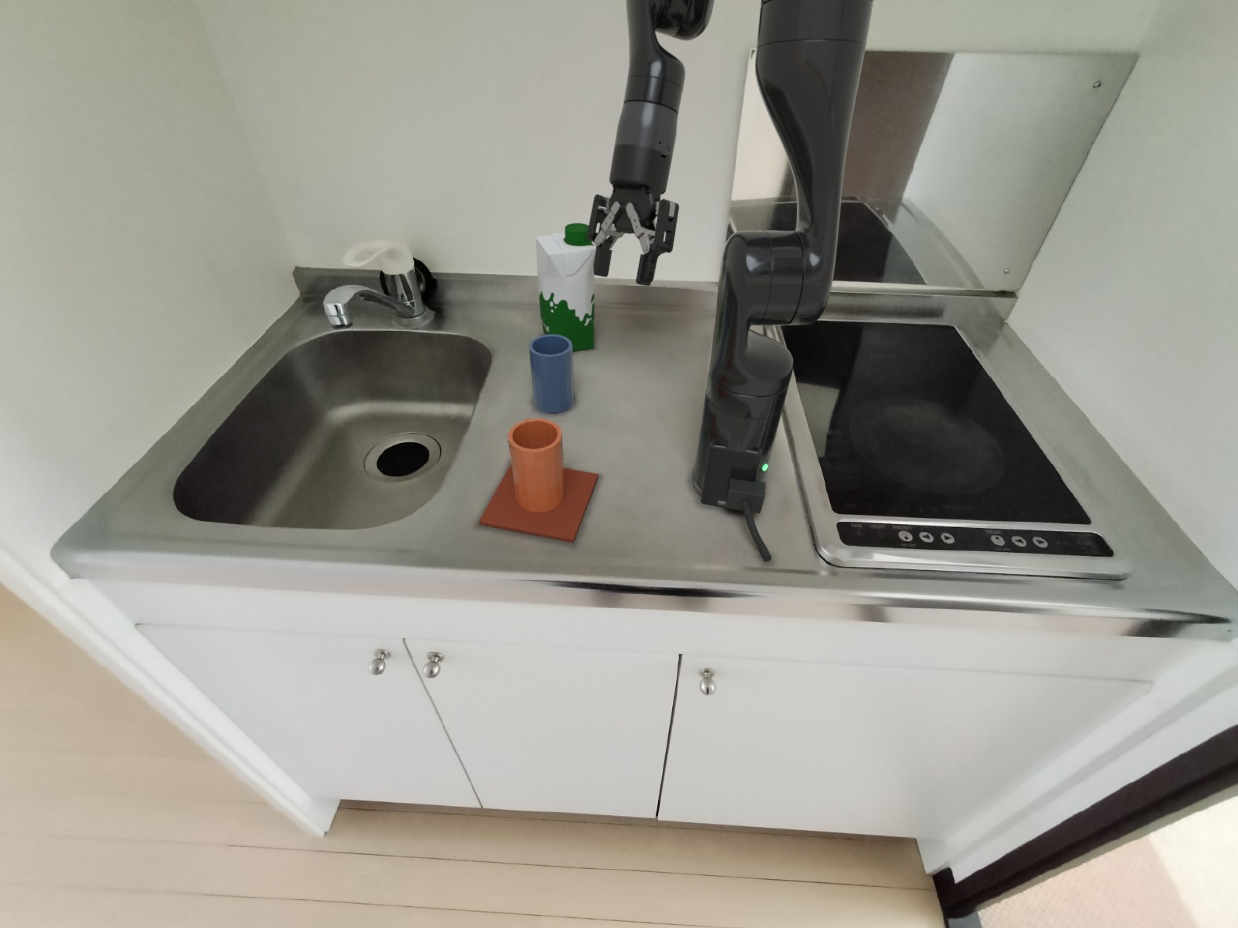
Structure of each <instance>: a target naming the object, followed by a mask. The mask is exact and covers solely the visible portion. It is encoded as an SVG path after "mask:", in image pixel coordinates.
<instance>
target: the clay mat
mask: <svg viewBox="0 0 1238 928" xmlns="http://www.w3.org/2000/svg"><path fill="white" fill-rule="evenodd" d="M598 480H599V473H595V472H590V471H585V470H578V469H574V468H573V469H572V468H567V467H564V483H565V496H564V499H563V501H562V503H561V504H560V505H559V506H558V507H556V508H555V509H553V510H551V511H548V512H542V513H534V512H530V511H527V510H525V509H523V508H522V507H520V506H519V504H518V503H517V501H516V495H515V488H514V480H513V472H512V464H511V463H510V464H509V467H508V468H507V469H506V472H505V474H504V475H503V477H502V478H501V480H500V482H499V484H498V485H497V488H496V489H495V492H494V493H493V495H492V497H491V499H490V501H489V502H488V503H487V506H486V507H485V509H484V511H483V513H482V515H481V517H479V518H480V519H479V520H478V525H480V526H484V527H489V528H494V529H500V530H504V531H505V530H506V531H511V532H516V533H521V534H526V535H532V536H536V537H541V538H545V539H552V540H555V541H556V540H557V541H563V542H567V543H571V544H574V543H575V540H576V537H577V535H578V532H579V529H580V527H581V524H582V522H583V519H584V516H585V514H586V511H587V508H588V506H589V503H590V502H591V501H590V500H591V498H592V495H593V494H594V493H593V492H594V490H595V487H596V485H597V482H598Z"/></svg>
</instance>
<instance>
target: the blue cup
mask: <svg viewBox="0 0 1238 928" xmlns="http://www.w3.org/2000/svg"><path fill="white" fill-rule="evenodd" d="M528 351H529V352H528V353H529V364H530V374H531V386H532V387H531V388H532V396H533V397H532V398H533V406H534V407H535V409H537V410H538V411H539V412H541V413H545V414H561V413H564V412H566V411H568V410H570V409H571V408H572V407H573V406H574V403H575V383H574V381H575V380H574V352H573V347H572V342H571V341H570V340H569V339H568V338H566V337H564V336H561V335H555V334H550V335H544V334H542V335H538V336H536V337H534V338H533V339H531V341H530V342H529V344H528Z"/></svg>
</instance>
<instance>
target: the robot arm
mask: <svg viewBox="0 0 1238 928" xmlns="http://www.w3.org/2000/svg"><path fill="white" fill-rule="evenodd" d="M715 1H716V0H625V9H626V21H627V34H628V70H627V71H628V72H627V79H626V84H625V91H624V96H623V97H624V98H623V104H622V108H621V113H620V116H619V119H618V123H617V128H616V132H615V133H616V134H615V140H614V146H613V147H614V148H613V153H612V160H611V167H610V171H609V176H608V177H609V178H608V179H609V183H610V185H611V186H612V192H611V195H610V197H609V196H606V195H601V194H598V193H597V194H595V195H594V197H593V202H592V206H591V212H590V217H589V222H588V226H589V227H588V232H587V239H588V240H591V241H592V243H593V244H594V247H595V248H596V252H595V259H594V265H593V269H594V276H597V277H602V278H607V277H608V276H609V273H610V266H611V261H612V255H613V249H612V248H613V247H614V245H615V244H616V242H618V240H619V239H620V238H622V237H624V235H625V234H627V235H628V234H629V235H631V234H634V236H635V238H636V239H637V240H638V241H639V244H640V247H641V251H642V253H640V255H639V262H638V266H637V271H636V276H635V283H636V284H637V285H640V286H646V287H649V286H651V284H652V282H654V281H653V280H654V279H655V273H656V269H657V265H658V259H659V257H660V256H661V255H662V254H663V255H664V254H665V253H668V254H670V253H672V252H673V250H674V244H675V238H676V237H675V236H676V232H677V224H678V218H679V210H680V205H679V203H678V202H674V201H672V200H669V199H665V198H662V199H661V196H663V195H664V194H665V193H666V192H667V188H668V183H669V176H670V171H671V167H672V160H673V155H674V150H675V145H676V139H677V129H678V119H679V113H680V107H681V100H682V96H683V91H684V86H685V80H686V67H685V65H684V63H683V62H682V60H680V59H679V58H678V57H676V56H675V55H674V54H673V53H671V52H669V51H668V50H667V49H666V48H664V47H663V45H661V43H660V42H659V40H658V36H657V33H658V34H661V35H663V36H667V37H670V38H673V39H676V40H679V41H684V42H690V41H692V40H693V41H694V40H695V39H696V38H698V37H700V36H701V35H702V34H703V33H705V32H704V31H705V30H706V29H707V27H708V25H709V23H710V20H711V17H712V13H713V10H714V5H715ZM874 1H875V0H760V8H759V17H758V27H757V38H756V50H755V59H754V74H755V80H756V83H757V84H756V85H757V87H758V90H759V95H760V97H761V99H762V102H763V105H764V107H765V110H766V112H767V115H768V118H769V119H770V121H771V123H772V126H773V128H774V130H775V132H776V134H777V137H778V139H779V141H780V143H781V145H782V148H783V151H784V152H785V155H786V158H787V160H788V163H789V167H790V170H791V173H792V177H793V181H794V186H795V193H796V224H795V230H738V231H736V232H734V233H732V234H731V235H730V236H729V238H728V239H727V241H726V243H725V245H724V248H723V249H722V253H721V258H720V264H719V272H718V282H717V296H716V297H717V298H716V308H715V319H714V326H713V334H712V341H711V352H710V353H711V354H710V361H709V367H708V375H707V381H706V387H705V393H704V401H703V407H702V414H701V422H700V428H699V435H698V441H697V447H696V448H697V449H696V455H695V462H694V463H695V464H694V469H693V473H692V485H693V488H694V490H695V492H696V493H697V494H698V495H699V496H700V503H701V504H706V505H707V504H708V505H713V506H718V507H724V508H725V509H731V510H738V511H743V515H744V518H745V522H746V524H747V528H748V530H749V532H750V535H751V538H752V540H753V541H754V544H755V545H756V546H757V549H758V550H759V552H760V554H761V555H762V557H763V560H764V561H765V562H769V561H771V560H772V558H773V556H772V555H771V553H770V551H769V549H768V547H767V545H766V544H765V542H764V541H763V540H764V539H762V537H761V535H760V533H759V530H758V528H757V527H758V526H757V525H756V522H755V519H754V516H753V513H754V514H760V515H761V513H762V510H763V505H764V501H765V497H766V487H767V486H766V485H767V483H766V478H767V473H768V470H769V464H770V461H771V457H772V454H773V451H774V445H775V442H776V437H777V434H778V430H779V426H780V422H781V418H782V414H783V409H784V406H785V404H786V399H787V395H788V390H789V387H790V383H791V379H792V376H793V375H792V374H793V371H794V367H795V364H794V358H793V355H792V352H791V351H790V350H789V349H788V348H787V347H786V346H785V345H784V344H783V343H781V342H780V341H778V340H776V339H774V338H773V337H770V336H768V335H765V334H762V333H760V332H758V331H755V330H753V329H752V328H751V327H752V326H806V325H807V326H808V325H812V324H814V323H816V322H817V321H819V319H820V318H821V317H822V315H824V312H825V310H826V308H827V306H828V302H829V299H830V296H831V291H832V289H833V281H834V275H835V269H836V258H837V249H838V240H839V228H840V217H841V207H842V198H843V197H842V196H843V186H844V177H845V176H844V175H845V168H846V159H847V153H848V147H849V142H850V140H849V139H850V134H851V129H852V122H853V117H854V111H855V105H856V101H857V100H856V99H857V95H858V89H859V85H860V80H861V79H860V78H861V74H862V69H863V64H864V59H865V54H866V49H867V48H866V47H867V43H868V36H869V31H870V25H871V19H872V14H873V13H872V12H873V7H874ZM598 225H599V227H598ZM597 228H598V231H597Z"/></svg>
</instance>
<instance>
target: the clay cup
mask: <svg viewBox="0 0 1238 928" xmlns="http://www.w3.org/2000/svg"><path fill="white" fill-rule="evenodd" d="M507 439H508V448H509V457H510V464H512V472H513V480H514V488H515V495H516V501H517V503H518V504H519V506H520V507H522V508H523V509H525V510H527V511H530V512H534V513H542V512H548V511H551V510H553V509H555V508H556V507H558V506H559V505H560V504H561V503H562V501H563V499H564V496H565V483H564V468H565V466H564V445H563V444H564V442H563V433H562V429H561V427H560V426H559V425H558V424H557V423H556V422H554V421H552V420H550V419H546V418H538V417H537V418H536V417H534V418H527V419H523V420H522V421H518V422H517V423H515V424H514V425H513V426H512V427H511V428H510V430H509V432H508V433H507Z"/></svg>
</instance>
